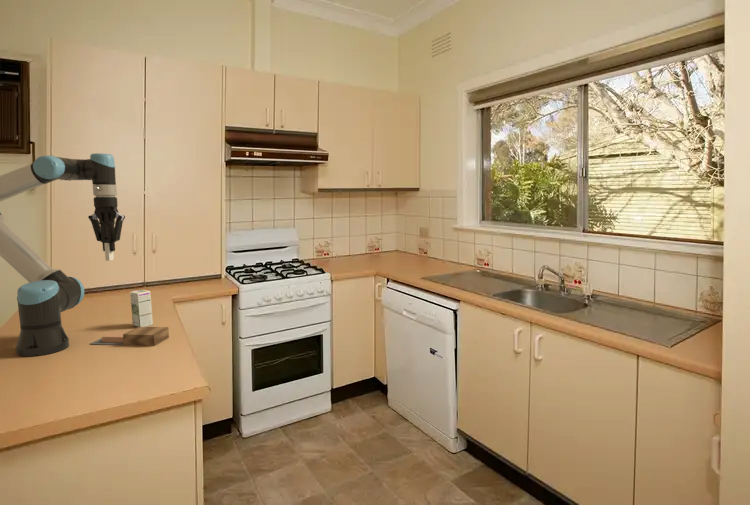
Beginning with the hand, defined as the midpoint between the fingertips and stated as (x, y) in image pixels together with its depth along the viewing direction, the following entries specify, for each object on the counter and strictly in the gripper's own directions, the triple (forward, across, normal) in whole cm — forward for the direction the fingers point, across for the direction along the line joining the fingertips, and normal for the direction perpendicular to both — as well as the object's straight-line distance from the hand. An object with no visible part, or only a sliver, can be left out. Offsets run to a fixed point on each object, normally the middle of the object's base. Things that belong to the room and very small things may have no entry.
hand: (109, 260), depth 174 cm
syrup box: (+30, +2, +15) cm, 33 cm away
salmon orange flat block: (+29, +5, -5) cm, 30 cm away
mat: (+29, +4, -5) cm, 30 cm away
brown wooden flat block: (+29, +16, -5) cm, 34 cm away
